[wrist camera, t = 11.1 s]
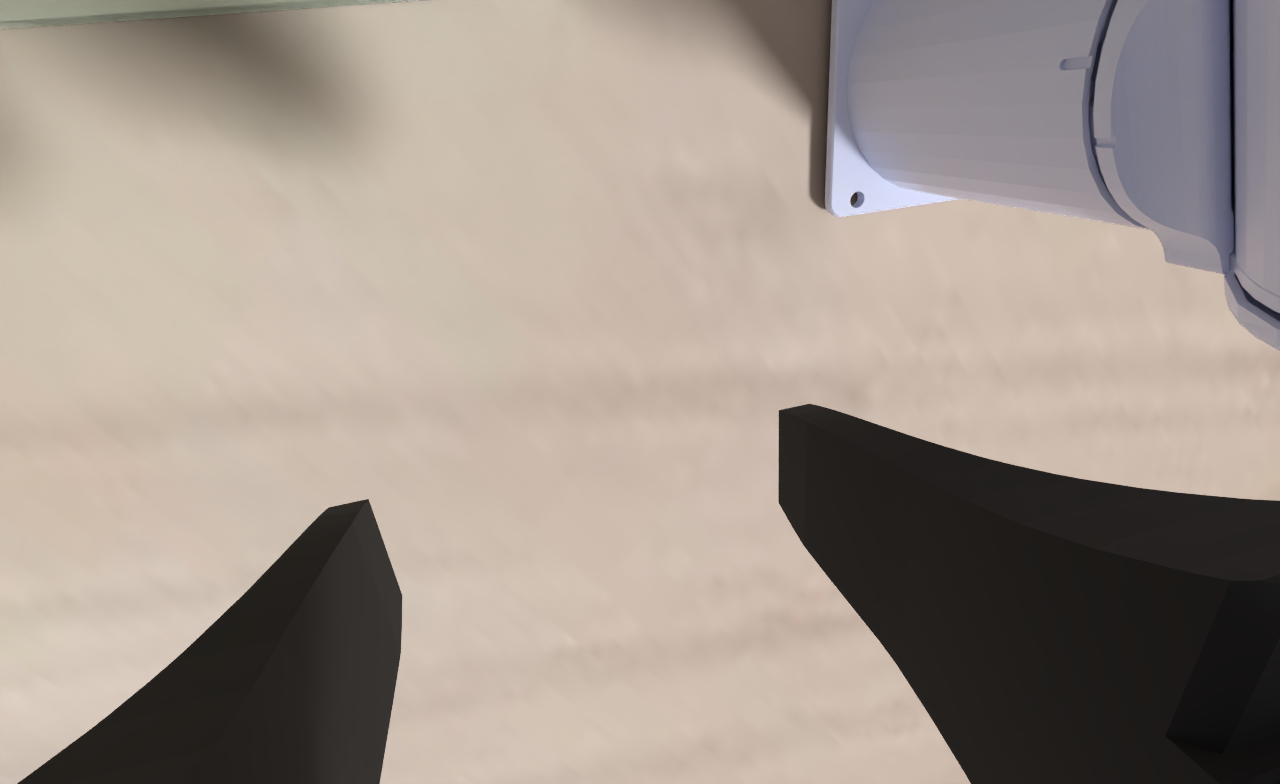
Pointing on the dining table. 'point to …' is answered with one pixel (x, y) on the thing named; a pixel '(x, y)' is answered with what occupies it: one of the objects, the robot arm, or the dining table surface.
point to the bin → (143, 9)
